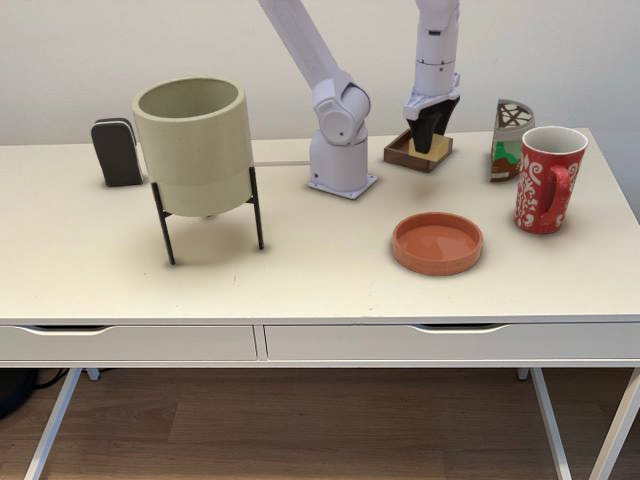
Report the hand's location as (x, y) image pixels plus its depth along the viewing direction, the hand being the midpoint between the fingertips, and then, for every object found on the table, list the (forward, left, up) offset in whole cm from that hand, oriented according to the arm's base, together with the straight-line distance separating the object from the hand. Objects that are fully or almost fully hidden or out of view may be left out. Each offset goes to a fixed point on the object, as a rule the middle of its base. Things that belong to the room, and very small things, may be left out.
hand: (428, 146), depth 105 cm
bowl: (+9, -14, -8) cm, 18 cm away
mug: (+20, -1, -9) cm, 22 cm away
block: (0, 0, -1) cm, 1 cm away
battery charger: (-49, -22, -9) cm, 54 cm away
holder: (-7, +11, -8) cm, 16 cm away
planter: (-22, -29, -9) cm, 37 cm away
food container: (+9, +14, -9) cm, 19 cm away
